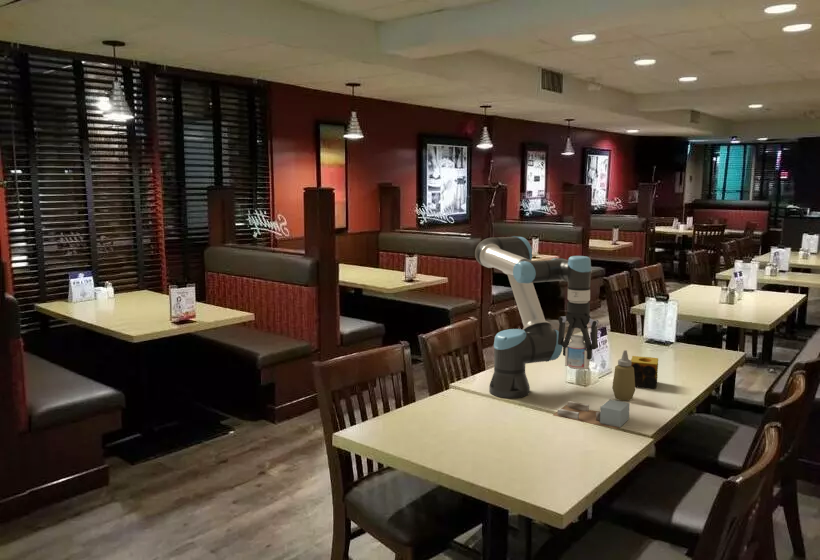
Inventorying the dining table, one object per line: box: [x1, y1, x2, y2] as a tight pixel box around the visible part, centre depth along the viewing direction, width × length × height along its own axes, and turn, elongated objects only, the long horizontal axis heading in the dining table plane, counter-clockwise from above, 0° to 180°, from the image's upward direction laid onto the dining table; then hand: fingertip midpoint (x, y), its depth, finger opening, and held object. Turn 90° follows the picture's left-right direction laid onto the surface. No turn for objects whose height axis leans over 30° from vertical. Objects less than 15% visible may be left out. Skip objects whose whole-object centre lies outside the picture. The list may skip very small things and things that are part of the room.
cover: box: [599, 399, 630, 428], centre depth 211 cm, size 6×9×5 cm
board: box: [552, 400, 620, 430], centre depth 216 cm, size 22×12×4 cm, turn 54°
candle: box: [630, 355, 659, 390], centre depth 253 cm, size 10×10×10 cm
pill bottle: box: [567, 334, 587, 370], centre depth 226 cm, size 6×6×11 cm
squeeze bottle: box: [611, 349, 636, 402], centre depth 236 cm, size 8×8×18 cm
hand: (576, 366), depth 226 cm, fingers closed on pill bottle, 6 cm apart
